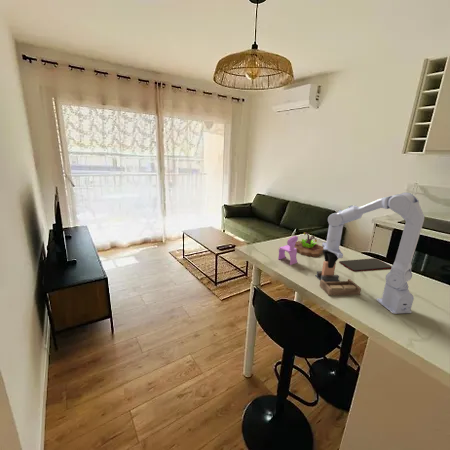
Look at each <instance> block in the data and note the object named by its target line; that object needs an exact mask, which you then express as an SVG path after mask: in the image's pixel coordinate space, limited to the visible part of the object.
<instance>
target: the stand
mask: <svg viewBox="0 0 450 450" xmlns="http://www.w3.org/2000/svg"><path fill="white" fill-rule="evenodd" d="M321 274H322V270H318V271H316V274H314V276H315V278H317V280H318V281H320V280H323V281H324V282H336V281H340V279H339V278H340V275H338V274H334V275H321Z"/></svg>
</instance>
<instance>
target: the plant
mask: <svg viewBox="0 0 450 450" xmlns="http://www.w3.org/2000/svg"><path fill="white" fill-rule="evenodd" d="M303 235H304V236H306V235H307V238H305V239H304V238H301V240H297V242H296V244H295V248H296V249H297V254H300V255H302V256H304V257H312V258H319V257H320V256H321V255H324V254H323V250H324V249H323V246H322V245H320V244H318V240H317V238H316V236H314V235H311V236H310V235H309V232H303ZM313 239H314V240H313Z"/></svg>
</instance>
